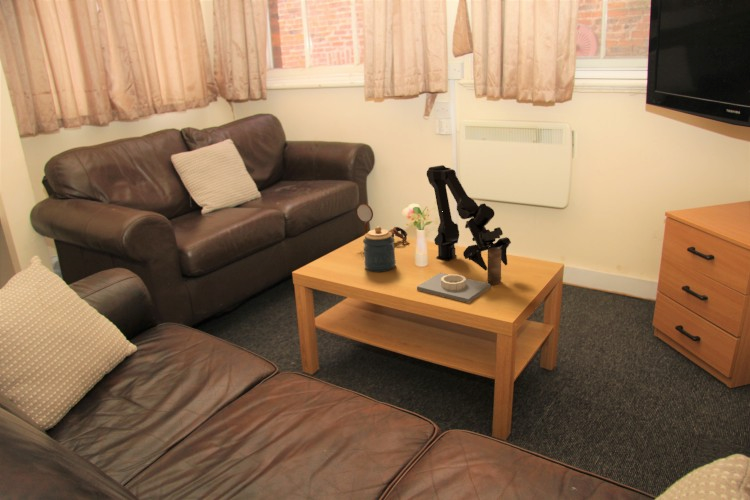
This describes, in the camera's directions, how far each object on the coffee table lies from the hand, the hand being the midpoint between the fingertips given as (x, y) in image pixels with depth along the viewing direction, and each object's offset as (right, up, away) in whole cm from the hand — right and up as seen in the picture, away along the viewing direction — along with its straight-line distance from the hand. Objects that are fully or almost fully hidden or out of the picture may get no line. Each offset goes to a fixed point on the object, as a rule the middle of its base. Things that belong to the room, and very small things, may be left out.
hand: (496, 267), depth 221 cm
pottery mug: (-36, +10, +54) cm, 66 cm away
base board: (-16, -8, 0) cm, 18 cm away
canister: (-43, -1, +26) cm, 50 cm away
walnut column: (0, -6, +3) cm, 7 cm away
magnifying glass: (-49, +8, +52) cm, 72 cm away
